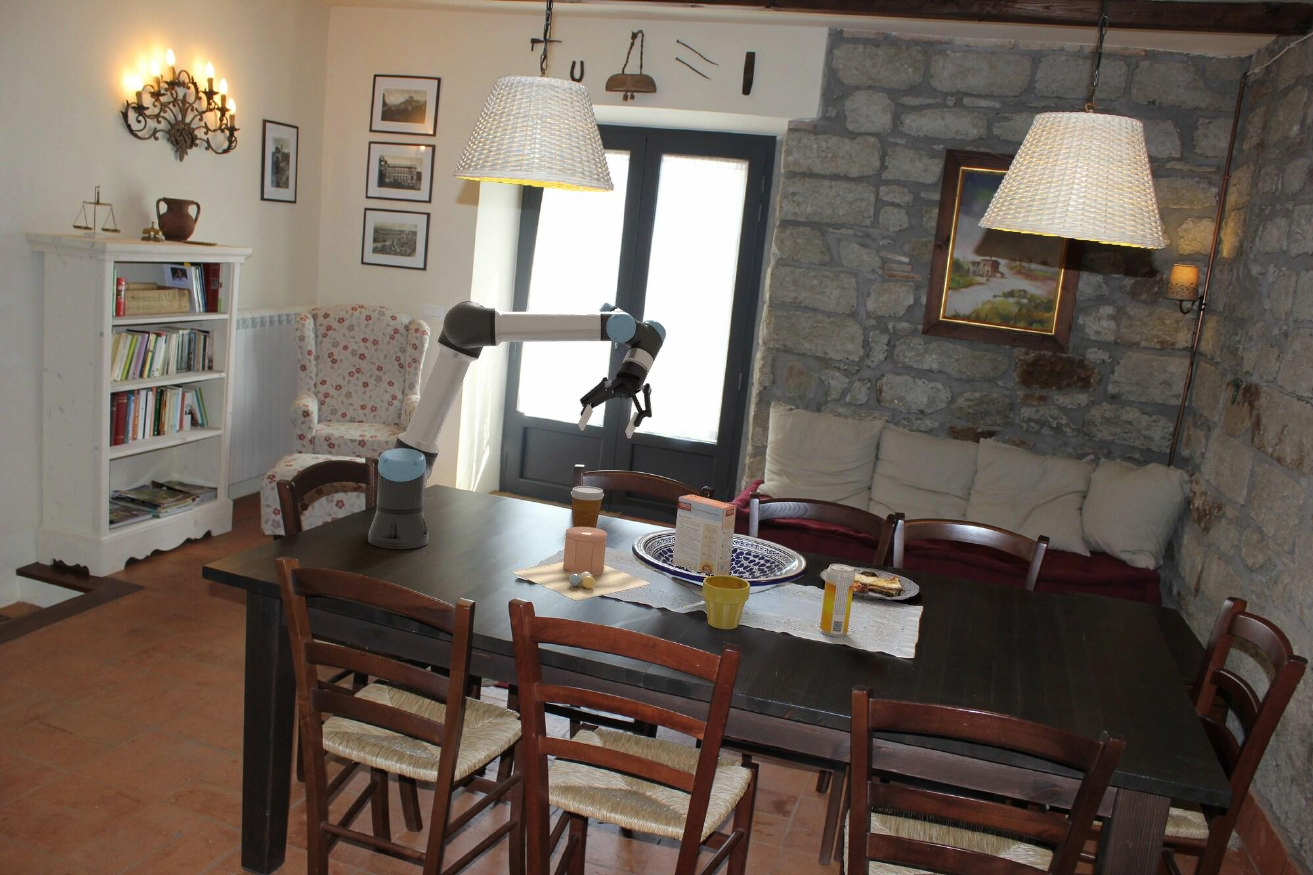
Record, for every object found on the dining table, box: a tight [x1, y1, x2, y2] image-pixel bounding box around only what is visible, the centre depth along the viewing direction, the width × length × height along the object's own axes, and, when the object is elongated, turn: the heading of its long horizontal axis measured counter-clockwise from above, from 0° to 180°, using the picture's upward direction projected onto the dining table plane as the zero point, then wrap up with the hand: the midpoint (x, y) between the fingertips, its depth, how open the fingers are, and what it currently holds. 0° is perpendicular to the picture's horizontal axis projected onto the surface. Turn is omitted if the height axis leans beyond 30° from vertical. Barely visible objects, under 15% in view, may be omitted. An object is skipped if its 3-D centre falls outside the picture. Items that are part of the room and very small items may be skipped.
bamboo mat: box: [511, 561, 652, 602], centre depth 240 cm, size 24×24×1 cm
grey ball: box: [569, 574, 582, 587], centre depth 233 cm, size 3×3×3 cm
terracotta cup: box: [563, 526, 608, 574], centre depth 247 cm, size 10×10×9 cm
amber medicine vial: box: [819, 563, 855, 638], centre depth 218 cm, size 6×6×15 cm
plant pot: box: [701, 575, 751, 630], centre depth 217 cm, size 10×10×10 cm
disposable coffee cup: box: [570, 485, 605, 528], centre depth 284 cm, size 10×10×12 cm
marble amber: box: [582, 576, 595, 589], centre depth 232 cm, size 3×3×3 cm
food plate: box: [818, 566, 920, 601], centre depth 255 cm, size 25×23×4 cm
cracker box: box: [671, 494, 737, 576], centre depth 245 cm, size 14×6×21 cm, turn 50°
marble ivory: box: [580, 572, 592, 583], centre depth 235 cm, size 3×3×3 cm
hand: (603, 431), depth 253 cm, fingers open, 13 cm apart
